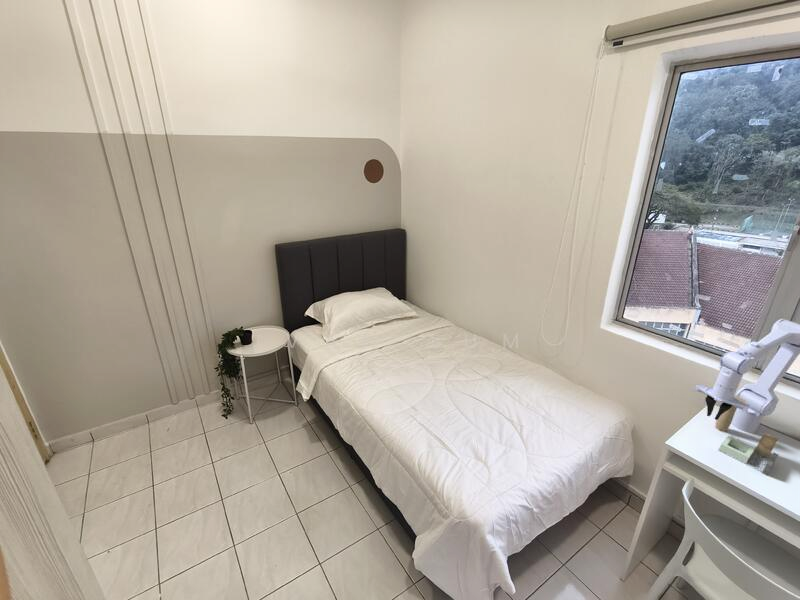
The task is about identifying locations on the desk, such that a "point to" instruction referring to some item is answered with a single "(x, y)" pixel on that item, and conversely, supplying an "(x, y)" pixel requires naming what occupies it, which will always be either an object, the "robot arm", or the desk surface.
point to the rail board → (770, 463)
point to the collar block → (735, 452)
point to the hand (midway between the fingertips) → (712, 416)
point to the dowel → (766, 445)
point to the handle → (727, 417)
